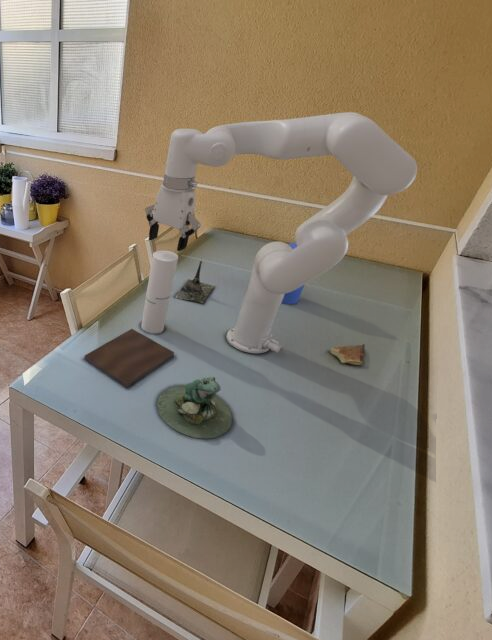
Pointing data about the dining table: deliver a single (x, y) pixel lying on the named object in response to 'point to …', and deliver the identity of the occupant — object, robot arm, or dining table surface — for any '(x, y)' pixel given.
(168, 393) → the frog figurine
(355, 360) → the shard
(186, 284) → the eiffel tower figurine
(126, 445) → the dining table surface
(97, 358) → the board
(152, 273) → the cylindrical container
